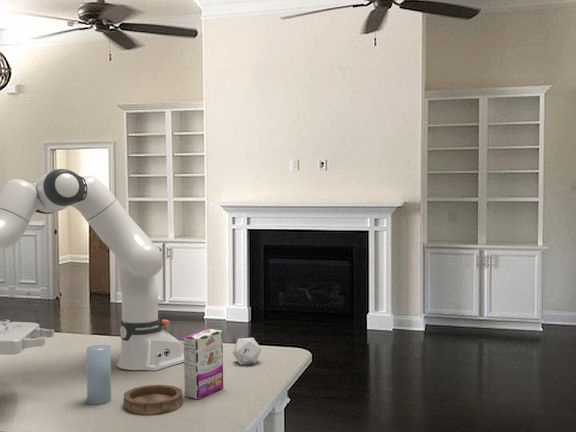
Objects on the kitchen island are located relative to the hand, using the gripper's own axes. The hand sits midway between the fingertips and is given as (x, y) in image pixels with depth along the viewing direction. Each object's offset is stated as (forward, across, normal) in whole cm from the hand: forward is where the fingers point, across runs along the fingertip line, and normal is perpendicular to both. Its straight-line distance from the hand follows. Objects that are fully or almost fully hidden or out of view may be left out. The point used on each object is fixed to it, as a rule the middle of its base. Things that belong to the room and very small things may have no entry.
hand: (49, 337), depth 162 cm
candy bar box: (+40, +3, +17) cm, 43 cm away
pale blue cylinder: (+12, 0, +17) cm, 21 cm away
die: (+53, +31, +16) cm, 64 cm away
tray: (+27, -4, +17) cm, 32 cm away
